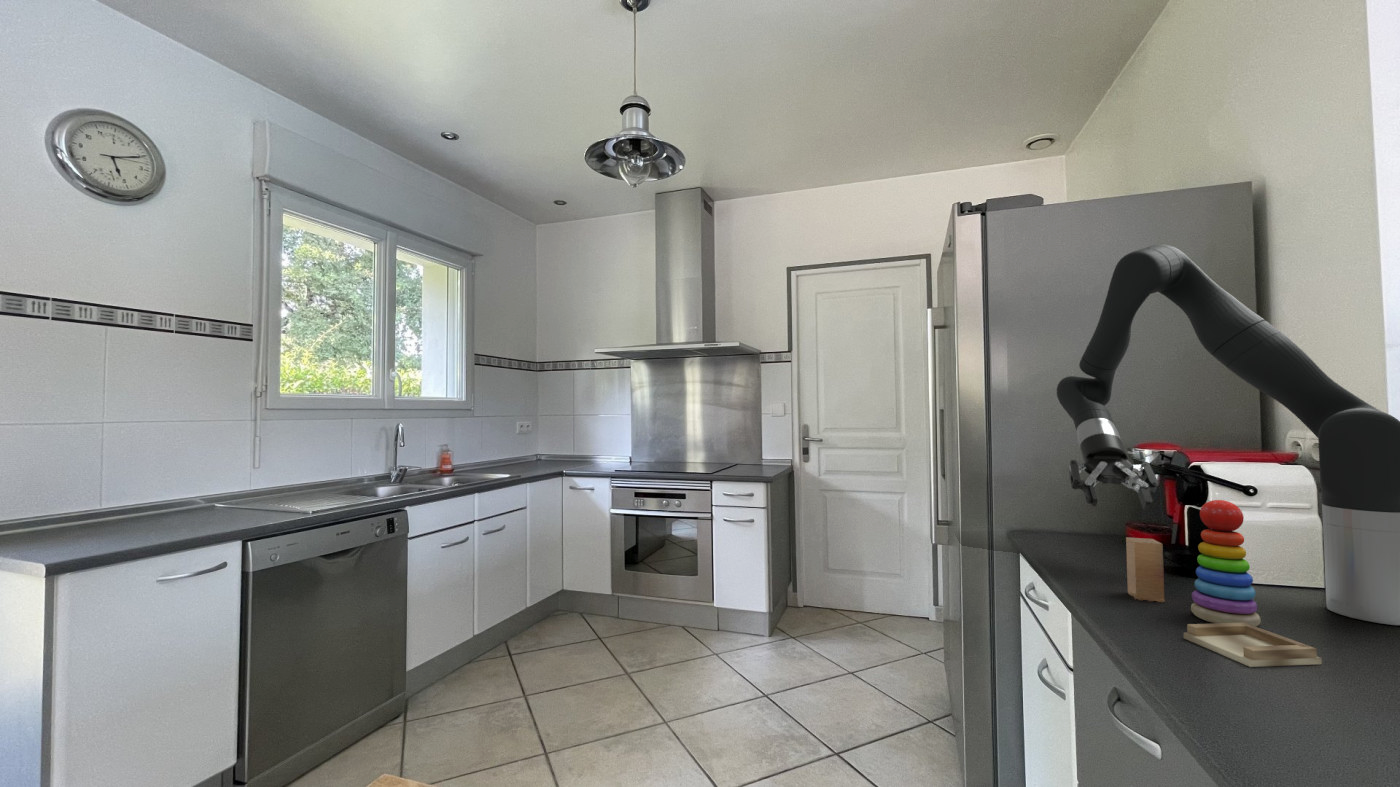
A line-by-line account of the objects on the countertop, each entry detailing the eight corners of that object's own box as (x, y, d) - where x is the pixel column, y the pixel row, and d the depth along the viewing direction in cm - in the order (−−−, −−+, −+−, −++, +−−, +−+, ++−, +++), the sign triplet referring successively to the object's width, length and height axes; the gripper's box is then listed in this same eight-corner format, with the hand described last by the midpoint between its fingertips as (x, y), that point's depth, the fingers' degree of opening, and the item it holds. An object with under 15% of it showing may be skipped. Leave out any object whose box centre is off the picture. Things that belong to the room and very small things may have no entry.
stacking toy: (1275, 632, 82) (1271, 505, 83) (1213, 628, 84) (1209, 503, 84) (1235, 613, 90) (1231, 497, 90) (1179, 609, 91) (1175, 496, 92)
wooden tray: (1247, 636, 80) (1247, 622, 80) (1321, 664, 71) (1321, 648, 71) (1183, 638, 80) (1183, 624, 80) (1250, 666, 71) (1249, 651, 71)
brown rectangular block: (1127, 592, 100) (1126, 537, 100) (1154, 595, 98) (1153, 539, 99) (1136, 599, 96) (1134, 542, 97) (1164, 602, 95) (1162, 543, 95)
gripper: (1064, 431, 120) (1081, 491, 109) (1144, 432, 115) (1170, 495, 103) (1059, 454, 124) (1074, 514, 113) (1135, 456, 119) (1159, 519, 108)
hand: (1120, 505), depth 108 cm, fingers open, 8 cm apart
